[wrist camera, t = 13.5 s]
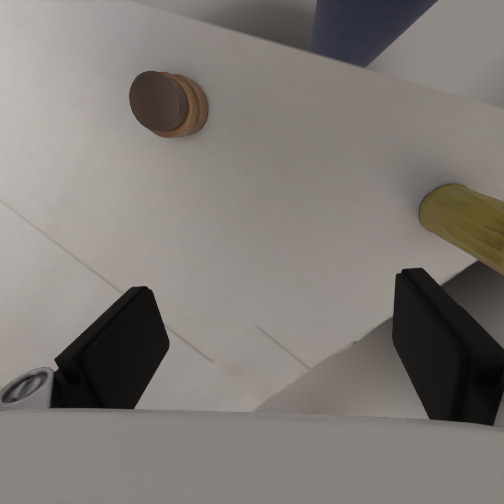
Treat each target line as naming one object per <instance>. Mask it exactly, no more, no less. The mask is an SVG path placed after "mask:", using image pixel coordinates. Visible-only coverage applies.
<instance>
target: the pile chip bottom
mask: <svg viewBox="0 0 504 504" xmlns="http://www.w3.org/2000/svg"><path fill="white" fill-rule="evenodd" d="M172 75H174V76H176V77H178V78H180V79H182V80H184V81H185V82H187V83H188V84H189V85H190V86H191V87H192V89H193V90H194V92H195V94H196V96H197V98H198V102H199V109H200V112H199V119H198V122H197V124H196V126H195V128H194V129H193V130H192V131H191V132H190V133H189V134H187V135H191V134H194V133H196V132H198V131H199V130H200V129H201V128H202V127H203V126H204V124H205V122H206V120H207V116H208V102H207V99H206V96H205V94H204V92H203V91H202V89H201V88H200V87H199V86H198V85H197V84H196V83H195V82H193V81H191V80H189V79H187V78H186V77H184V76H181V75H177V74H172Z"/></svg>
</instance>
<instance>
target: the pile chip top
mask: <svg viewBox="0 0 504 504" xmlns="http://www.w3.org/2000/svg"><path fill="white" fill-rule="evenodd" d="M159 73H161V74H164V75H166V76H168V77H170V78H172V79H174V80H175V81H177V82H178V83H179V84H180V85H181V87H182V88H183V89H184V91H185V93H186V96H187V99H188V115H187V118H186V120H185V122H184V123H183V125H182V126H181V127H179V128H178V129H176V130H174V131H153V130H150V129H149V130H150V131H151V132H153V133H154V134H156V135H158V136H161V137H166V138H176V137H183V136H185V135H187V134H189V133H190V132H191V131H192V130H193V129H194V128H195V126H196V124H197V122H198V119H199V112H200V109H199V102H198V98H197V96H196V94H195V92H194V90H193V89H192V87H191V86H190V85H189V84H188V83H187V82H185V81H184V80H182V79H180V78H178V77H176V76H174V75H172V74H170V73H166V72H159Z"/></svg>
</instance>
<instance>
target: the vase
mask: <svg viewBox="0 0 504 504" xmlns="http://www.w3.org/2000/svg"><path fill="white" fill-rule="evenodd" d="M419 216H420V221H421V223H422V225H423V226H424V227H425V228H426V229H427V230H429V231H431V232H433V233H435V234H437V235H438V236H439V237H441V238H443V239H444V240H446V241H448V242H449V243H451V244H453V245H455V246H456V247H458V248H460V249H461V250H463V251H465V252H466V253H468V254H470V255H472V256H473V257H475V258H477V259H478V260H480V261H481V262H483V263H485V264H486V265H488V266H490V267H491V268H493V269H494V270H496V271H497V272H499V273H500V274H502V275H503V276H504V202H503V201H501V200H498V199H495V198H492V197H489V196H486V195H483V194H480V193H478V192H475V191H472V190H470V189H468V188H467V187H465V186H463V185H459V184H449V185H445V186H442V187H440V188H438V189H436V190H434V191H433V192H432V193H430V194H429V195H428V196H427V197H426V198H425V200H424V201H423V203H422V205H421V207H420V212H419Z"/></svg>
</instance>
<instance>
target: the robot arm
mask: <svg viewBox="0 0 504 504" xmlns="http://www.w3.org/2000/svg"><path fill="white" fill-rule="evenodd" d="M392 339H393V343H394V346H395V348H396V350H397V353H398V355H399V357H400V359H401V361H402V363H403V365H404V367H405V369H406V371H407V373H408V375H409V377H410V379H411V382H412V384H413V386H414V388H415V390H416V392H417V394H418V396H419V398H420V400H421V402H422V404H423V406H424V409H425V411H426V412H427V415H428V417H429V419H430V420H429V419H410V418H389V417H370V416H369V417H368V416H344V415H315V414H314V415H313V414H286V413H255V412H221V411H185V410H144V409H134V408H135V406H136V404H137V403H138V401H139V399H140V398H141V396H142V394H143V392H144V391H145V389H146V387H147V386H148V384H149V382H150V380H151V379H152V377H153V375H154V373H155V372H156V370H157V368H158V367H159V365H160V363H161V361H162V360H163V358H164V356H165V354H166V353H167V351H168V349H169V338H168V336H167V333H166V330H165V327H164V324H163V321H162V318H161V315H160V312H159V309H158V306H157V303H156V300H155V297H154V294H153V292H152V290H150V289H149V288H148V287H146V286H140V287H131V288H130V289H129V290H128V291H127V292H126V293H124V294H123V295H122V296H121V297H120V298H119V299H118V300H117V301H116V302H115V303H114V304H113V305H112V306H111V307H110V308H109V309H107V310H106V311H105V312H104V313H103V314H102V315H101V316H100V317H99V318H98V319H97V320H96V321H95V322H94V323H93V324H92V325H90V326H89V327H88V328H87V329H86V330H85V331H84V332H83V333H82V334H81V335H80V336H79V337H78V338H77V339H76V340H75V341H73V342H72V343H71V344H70V345H69V346H68V347H67V348H66V349H65V350H64V351H63V352H62V353H61V354H60V355H59V356H57V357H56V358H55V359H54V360H55V362H56V364H57V366H58V367H59V369H58V370H57V371H56V372H54V371H53V369H51V368H50V367H41V368H36V369H34V370H31V371H28V372H26V373H24V374H22V375H20V376H19V377H17V378H16V379H14V380H13V381H11V382H10V383H9V384H7V385H6V386H5V387H4V388H3V389H2V390H1V391H0V504H504V349H503V348H502V347H501V346H500V345H499V344H498V343H497V342H496V341H495V340H494V339H493V338H492V337H491V336H490V335H489V334H488V333H487V332H486V331H485V330H484V329H483V328H482V326H480V324H478V322H476V320H475V319H474V318H473V317H472V316H471V315H470V314H469V313H468V312H467V311H466V310H465V309H464V308H462V307H461V306H460V305H458V304H457V303H456V302H455V301H454V300H453V299H452V298H451V297H450V296H449V295H448V294H447V293H446V292H445V291H444V290H443V289H442V288H441V286H440V285H439V284H438V283H437V282H436V281H435V280H434V279H433V278H432V277H431V276H430V275H429V274H428V273H427V272H426V271H425V270H424V269H423V268H410V269H403V270H402V271H401V273H397V274H396V280H395V296H394V313H393V330H392Z"/></svg>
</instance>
